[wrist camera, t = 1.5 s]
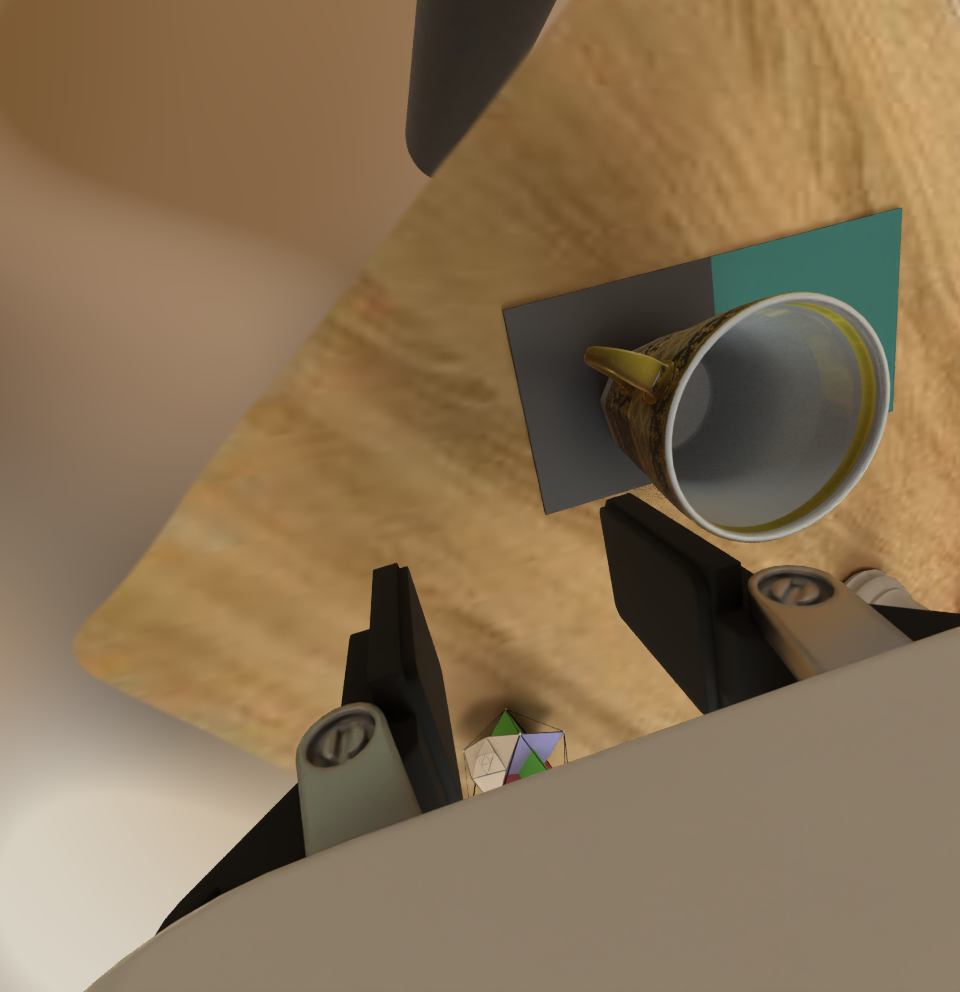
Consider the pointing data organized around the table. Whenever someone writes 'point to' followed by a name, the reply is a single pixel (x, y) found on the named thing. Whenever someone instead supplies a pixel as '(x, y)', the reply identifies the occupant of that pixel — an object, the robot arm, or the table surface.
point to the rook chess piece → (881, 590)
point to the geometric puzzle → (509, 754)
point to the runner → (668, 309)
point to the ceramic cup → (752, 412)
